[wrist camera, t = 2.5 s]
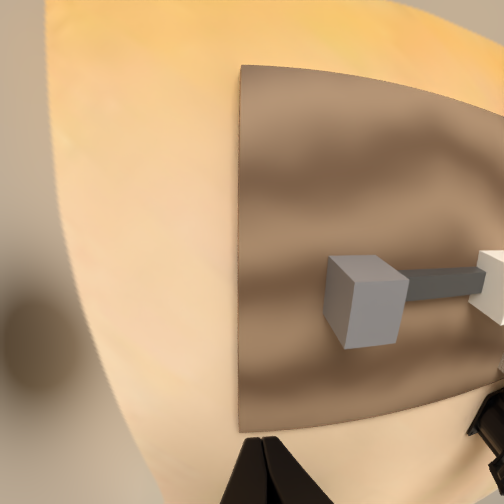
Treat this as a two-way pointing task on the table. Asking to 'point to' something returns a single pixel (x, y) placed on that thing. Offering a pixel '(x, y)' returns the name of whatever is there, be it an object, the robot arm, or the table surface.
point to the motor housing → (501, 364)
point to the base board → (358, 241)
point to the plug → (402, 294)
